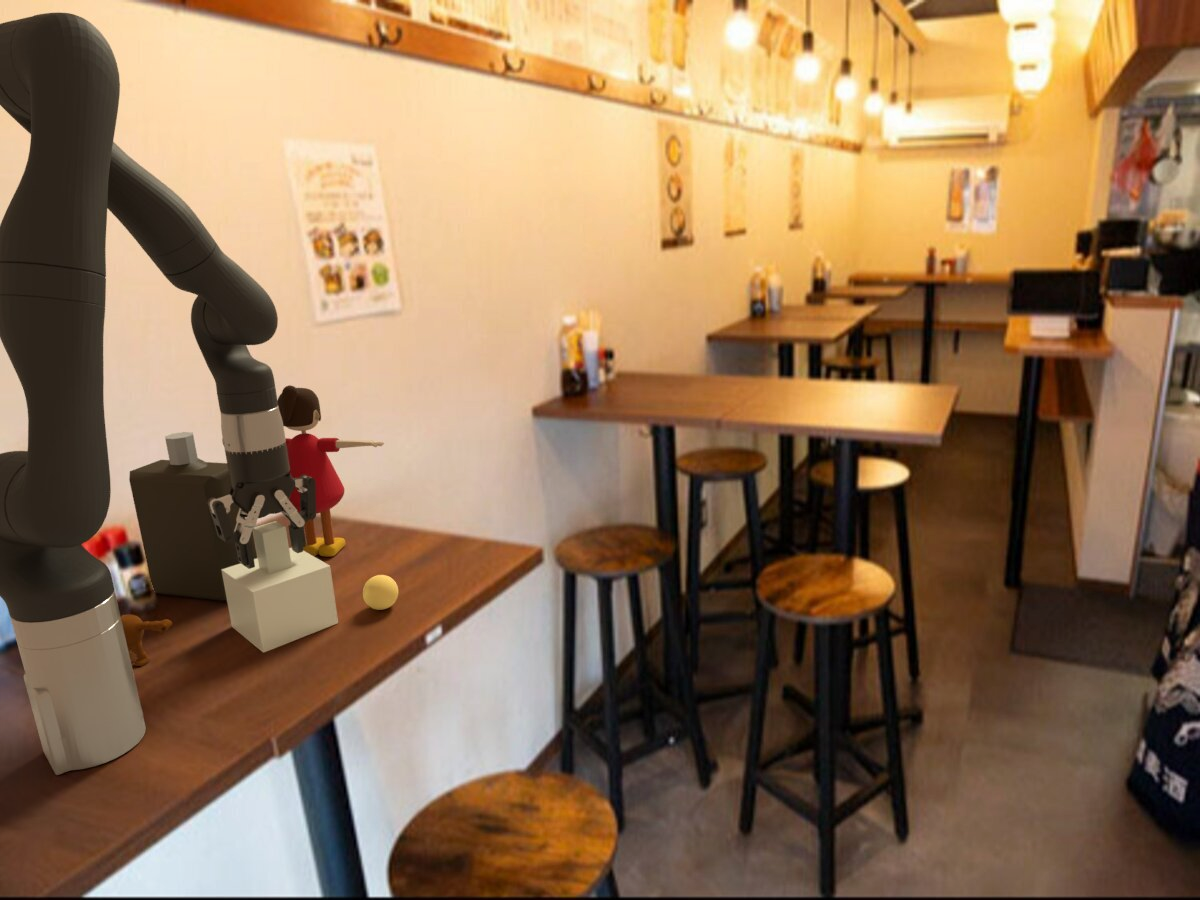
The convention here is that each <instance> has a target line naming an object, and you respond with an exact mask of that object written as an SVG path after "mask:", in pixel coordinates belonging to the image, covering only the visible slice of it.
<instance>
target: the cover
mask: <svg viewBox="0 0 1200 900" xmlns="http://www.w3.org/2000/svg"><path fill="white" fill-rule="evenodd" d="M286 527H287V526H285V525H283V524H282V523H280V522H278V521H276V520H275V521H271V522H268V523H264V524H261V525H257V526H255V527H254V528H253V529H252V530H253V536H254V542H255V548H256V554H257V559H254V563H255V567H253V568H250V569H248V568H247V567H245V566H244V565H242V564H237V565H234V566H231V567H228V568H225V569H221V570H222V576H223V581H224V587H225V592H226V597H227V601H226V603H227V608H228V612H229V619H230V623H231V624H230V625H231V628H233V630H235V631H236V632H238V633H239V634H240V635H241V636H242V637H244V639H246V640H247V641H249V643H251V644H252V645H253V646H254V647H256V648H257V649H259V651H261V653H266V652H269V651H271V650H274V649H277V648H279V647H282V646H284V645H287V644H289V643H291V642H294V641H296V640H299V639H302V638H304V637H306V636H309V635H311V634H312V635H313V634H314V633H316V632H317V633H318V632H320V631H322V630H325V629H327V628H330V627H332V626H334V625H337V624H339V618H338V611H337V605H336V597H335V590H334V585H333V584H334V582H333V578H332V577H333V575H332V569H331V565H329V564H328V563H326V562H324V561H322V560H321V559H319V558H318V557H317V556H312V555H310V554H309V553H307V552H305V551H303V552H301V553H296V552H294V551H293V550H292V547H290V546H289V541H288V533H287V528H286Z"/></svg>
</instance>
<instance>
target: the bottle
mask: <svg viewBox="0 0 1200 900" xmlns="http://www.w3.org/2000/svg"><path fill="white" fill-rule="evenodd" d="M164 438H165V444H166V448H167V449H166V450H167V455H168V459H160V460H159V459H158V460H156V461H154V462H151V463H149V464H146V465H142V466H140V467H138V468H135V469H133V470H130V471H129V479H128V480H129V485H130V490H131V494H132V495H131V496H132V499H133V504H134V509H135V513H136V518H137V522H138V527H139V532H140V537H141V542H142V547H143V551H144V555H145V561H146V566H147V570H148V574H149V579H151V580H150V583H151V582H152V585H153V588H154V591H155V592H156V593H155V592H154V591H153V592H154V593H155V594H157V593H159V595H166V594H167V595H168V596H174V597H184V598H195V599H204V600H212V601H221V602H227V597H226V592H225V587H224V581H223V576H222V570H221V569H225V568H228V567H231V566H234V565H237V564H241V563H240V562H239V560H238V556H237V550H236V544H235V543H230V544H228V543H226V542H225V541H223V540H222V539H220V538H219V537H218V534H217V531H216V528H215V525H214V522H213V519H212V516H211V513H210V510H209V506H208V503H207V502H208V500H209V499H210V498H216V499H218V498H221V497H224V496H226V495H229V492H230V489H231V481H230V477H229V471H228V465H227V462H209V461H208V462H207V461H205V460H203V459H200V458H199V457H198V453H197V447H196V443H195V437H194V432H191V431H190V432H189V431H188V432H186V431H185V432H184V431H183V432H182V431H181V432H176V433H171V434H167V435H165V436H164ZM239 509H240V508H239V507H238V506H237V505H236V504H235V503H232V504H231V505H230V511H229V513H227V516H228V519H229V522H230V525H231V528H232V531H234V530H235V527H236V524H237V521H236V518H237V515H238V512H239ZM249 542H251V546H252V552H253V558H254V559H257V558H258V557H257V551H256V545H255V539H254V533H253V529H252V532H251V535H250V538H249ZM152 585H151V586H152Z"/></svg>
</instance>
